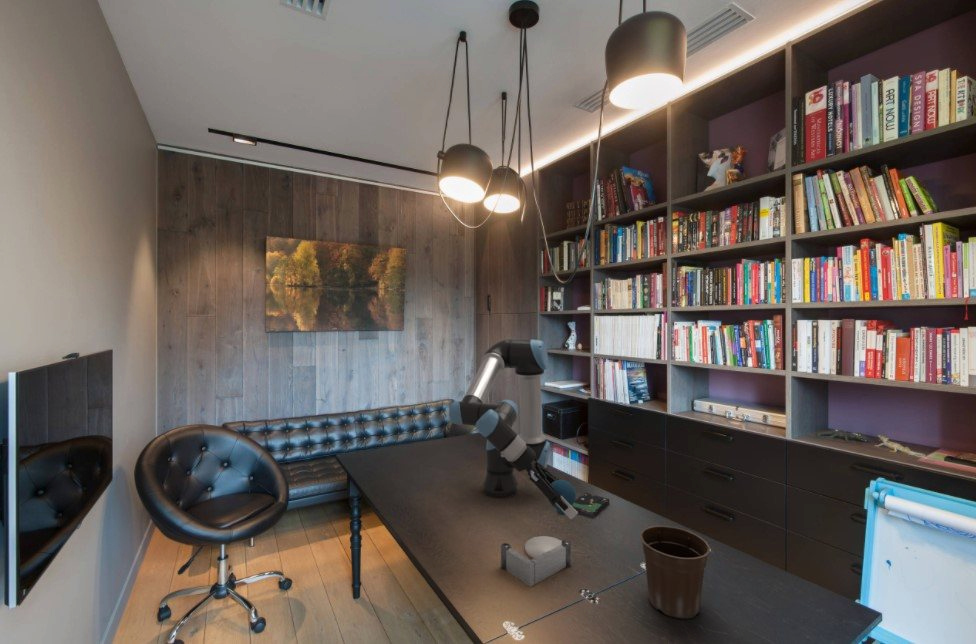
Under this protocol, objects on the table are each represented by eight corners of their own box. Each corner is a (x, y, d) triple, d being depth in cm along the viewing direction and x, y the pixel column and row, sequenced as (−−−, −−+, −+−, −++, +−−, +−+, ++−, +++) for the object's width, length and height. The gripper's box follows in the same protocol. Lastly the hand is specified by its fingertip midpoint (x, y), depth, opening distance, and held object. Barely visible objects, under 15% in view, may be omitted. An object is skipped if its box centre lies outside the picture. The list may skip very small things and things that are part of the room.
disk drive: (585, 499, 172) (568, 511, 160) (585, 492, 172) (568, 504, 160) (609, 505, 166) (594, 519, 154) (609, 498, 166) (594, 511, 154)
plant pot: (689, 582, 117) (689, 524, 116) (723, 625, 100) (723, 557, 100) (631, 584, 116) (630, 525, 116) (656, 627, 100) (656, 559, 100)
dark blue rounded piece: (554, 529, 121) (554, 487, 121) (542, 516, 129) (542, 476, 129) (580, 525, 123) (580, 484, 123) (567, 512, 131) (567, 474, 131)
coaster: (544, 535, 142) (544, 532, 142) (575, 551, 132) (575, 548, 132) (516, 548, 134) (516, 545, 134) (546, 566, 124) (546, 563, 124)
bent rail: (541, 546, 135) (541, 526, 135) (573, 564, 125) (573, 543, 125) (498, 567, 124) (498, 545, 124) (530, 588, 114) (530, 565, 114)
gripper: (511, 450, 138) (561, 501, 136) (508, 475, 117) (566, 535, 115) (527, 435, 137) (577, 485, 136) (527, 456, 116) (586, 517, 115)
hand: (572, 508), depth 126 cm, fingers closed on dark blue rounded piece, 8 cm apart
